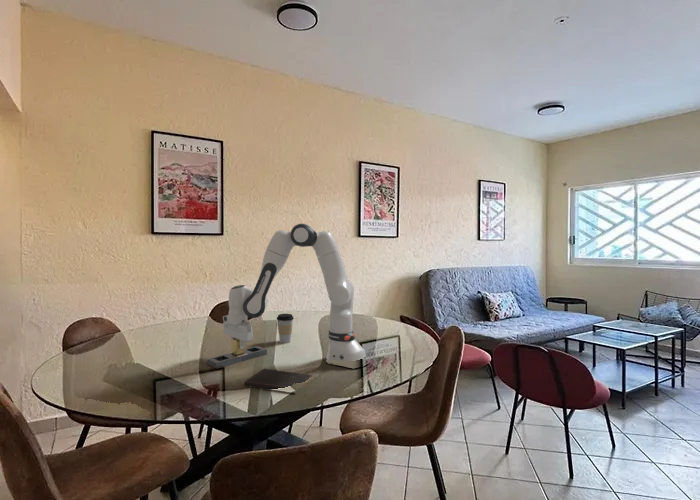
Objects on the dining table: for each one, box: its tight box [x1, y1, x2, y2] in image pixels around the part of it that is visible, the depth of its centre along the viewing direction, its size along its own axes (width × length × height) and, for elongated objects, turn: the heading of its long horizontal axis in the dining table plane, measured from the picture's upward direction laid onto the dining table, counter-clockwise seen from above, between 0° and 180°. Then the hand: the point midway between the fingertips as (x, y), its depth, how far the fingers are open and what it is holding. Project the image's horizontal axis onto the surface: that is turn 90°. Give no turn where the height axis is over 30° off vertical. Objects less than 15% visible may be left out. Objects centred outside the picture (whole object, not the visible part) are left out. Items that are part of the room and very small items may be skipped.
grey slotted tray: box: [206, 345, 268, 369], centre depth 195 cm, size 8×28×3 cm, turn 139°
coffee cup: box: [276, 313, 295, 344], centre depth 224 cm, size 9×9×15 cm
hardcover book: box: [243, 368, 313, 390], centre depth 167 cm, size 16×23×2 cm
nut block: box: [231, 338, 245, 355], centre depth 194 cm, size 4×4×7 cm
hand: (237, 347), depth 194 cm, fingers closed on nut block, 4 cm apart
